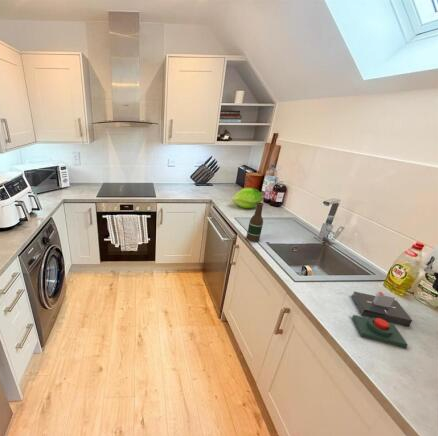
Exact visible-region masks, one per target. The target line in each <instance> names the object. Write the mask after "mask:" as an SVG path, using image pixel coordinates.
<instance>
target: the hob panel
mask: <svg viewBox="0 0 438 436" xmlns="http://www.w3.org/2000/svg"><path fill="white" fill-rule="evenodd" d="M375 296H376V295H372V294H369V293H364V292H358V291H353V293H352V294H351V299H352V301H353V302H354V304H355V306H356V308H357V309H358V312H359V314H360V316H361V317H365V318H380V319H383V320H385V321H387V322H388V323H391V324H396V325H400V326H404V327H410V326H411V324H412V322H413V319H412V318H411V317H410V315H409V314H408V313H407V312H406V310H405V309H404V308H403V307H402V305H401V304H400V302H398V300H397V299H394V301H393V303H392V304H391V306H390V308H388V307H383V306H379V305H375V304H374V303H373V300H374V298H375Z"/></svg>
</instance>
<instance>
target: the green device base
mask: <svg viewBox="0 0 438 436" xmlns="http://www.w3.org/2000/svg"><path fill="white" fill-rule="evenodd" d="M375 319H376V318H371V317H366V316H362V315H357V314H353V315H352V317H351V320H352V322H353V323H354V325H355V327H356V329H357V331H358V333H359V335H360V337H361V338H365V339H369V340H373V341H377V342H381V343H384V344H388V345H392V346H396V347H399V348H402V349H406V348H407V347H408V346H409V345H408V343H407V341H406V340H405V338H404V337H403V335H402V333H400V331H399V330H398V328H397V327H396V325H395V323H391V322H388V323H389V327H388V329H387V330H383V329H380V328H378V327H377V326H375V325H374V321H375Z"/></svg>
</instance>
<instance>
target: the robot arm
mask: <svg viewBox="0 0 438 436" xmlns="http://www.w3.org/2000/svg"><path fill="white" fill-rule="evenodd" d="M424 265H425V268H423V271H424V272H425V273H426V274H428V275H431V276H434V278H435V279H434V281H433V283H432V285H431V288H432V289H433V290H434V291H435V292H436V293H438V243H436V244H435V246H434V247H433V248H432V250H431V251H430V253H429V254H428V255H427V257H426V258H425V261H424Z"/></svg>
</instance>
